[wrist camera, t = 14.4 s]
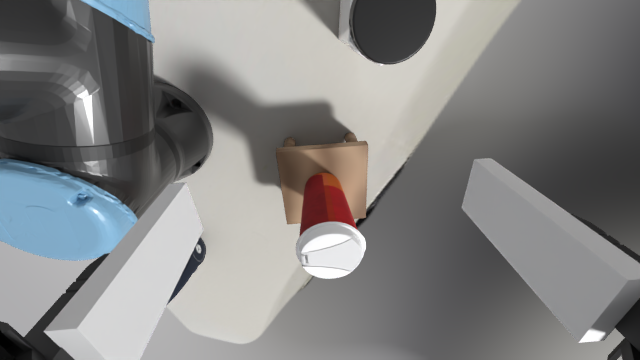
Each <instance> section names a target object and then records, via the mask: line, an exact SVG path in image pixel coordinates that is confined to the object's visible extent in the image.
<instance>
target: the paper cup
mask: <svg viewBox="0 0 640 360" xmlns="http://www.w3.org/2000/svg"><path fill="white" fill-rule="evenodd" d="M365 249H366V241H365V238H364V237H363V236H362V235H361V234H360V232H359V231H358V230H357V227H356V225H355V222H354V219H353V216H352V213H351V211H350V208H349V205H348V202H347V199H346V197H345V194H344V191H343V188H342V186H341V184H340V182H339V180H338V179H337V178H336V177H335V176H334V175H332V174H330V173H317V174H315V175H313V176H311V177H310V178H309V179H308V181H307V182H306V185H305V189H304V197H303V206H302V217H301V227H300V237H299V239H298V241H297V243H296V255H297V257H298V259H299V261H300V262H301V263H302V266H303V268H304V269H305V270H306V271H307V272H308V273H310V274H311V275H314V276H316V277H319V278H327V279H329V278H338V277H342V276H345V275H347V274H349V273H350V272H352V271H353V270H354V269H355V268H356V267H357V266H358V265H359V263H360V261H361V259H362V258H363V256H364V251H365Z"/></svg>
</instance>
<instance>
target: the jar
mask: <svg viewBox="0 0 640 360" xmlns="http://www.w3.org/2000/svg"><path fill="white" fill-rule="evenodd" d="M435 17H436V0H340V18H339V37H338V38H339V40H340V41H342V42H343V43H344V44H346V45H347V46H349V48H351V49H352V50H353V51H355V52H356V53H357V54H359V55H361V56H362V57H364V58H365V59H368V60H370V61H372V62H374V63H376V64H378V65H379V66H382V65H384V64H396V63H400V62H403V61H405V60H407V59H409V58H410V57H412V56H413V55H414V54H416V53H417V52H418V51H419V50H420V49H421V48H422V46H423V45H424V44H425V42H426V41H427V39H428V37H429V36H430V33H431V31H432V28H433V26H434V22H435Z"/></svg>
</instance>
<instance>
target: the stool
mask: <svg viewBox="0 0 640 360" xmlns="http://www.w3.org/2000/svg"><path fill="white" fill-rule="evenodd" d="M345 141H346V143H334V144H321V145H308V146H295V140H294V139H293V138H292V137H288V138H286V139H285V141H284V147H282V148H277V149H276V157H277V163H278V170H279V176H280V182H281V188H282V195H283V201H284V207H285V213H286V220H287V224H297V223H301V217H302V206H303V197H304V189H305V185H306V182H307V181H308V179H309V178H310V177H311V176H313V175H315V174H317V173H330V174H332V175H334V176H335V177H336V178H337V179H338V180H339V182H340V184H341V186H342V188H343V191H344V194H345V197H346V199H347V202H348V205H349V208H350V211H351V213H352V216H353V219H357V218H366V193H367V164H368V144H367V142H366V141H359V142H358V141H357V139H356V136H355V134H354V133H351V132H350V133H347V134H346V135H345Z"/></svg>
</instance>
